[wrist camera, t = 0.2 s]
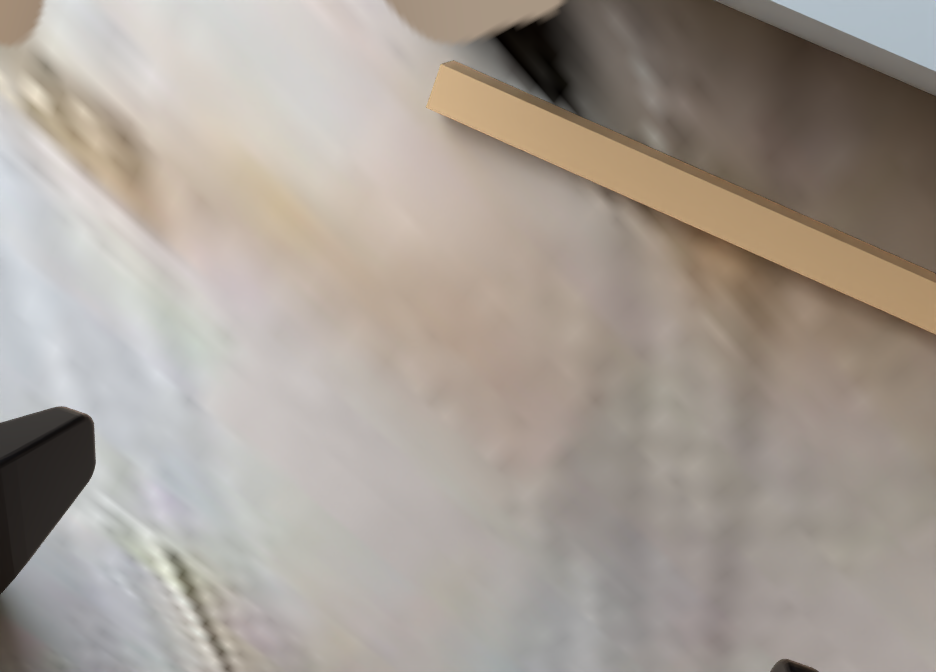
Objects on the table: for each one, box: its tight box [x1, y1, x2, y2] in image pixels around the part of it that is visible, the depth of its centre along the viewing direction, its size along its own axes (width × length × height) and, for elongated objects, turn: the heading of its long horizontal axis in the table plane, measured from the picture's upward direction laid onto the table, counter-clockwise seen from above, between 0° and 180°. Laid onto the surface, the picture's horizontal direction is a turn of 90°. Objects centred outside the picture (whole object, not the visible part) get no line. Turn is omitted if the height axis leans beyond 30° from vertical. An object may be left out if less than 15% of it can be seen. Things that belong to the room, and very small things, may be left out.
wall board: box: [426, 0, 936, 334], centre depth 15 cm, size 6×20×9 cm, turn 68°
